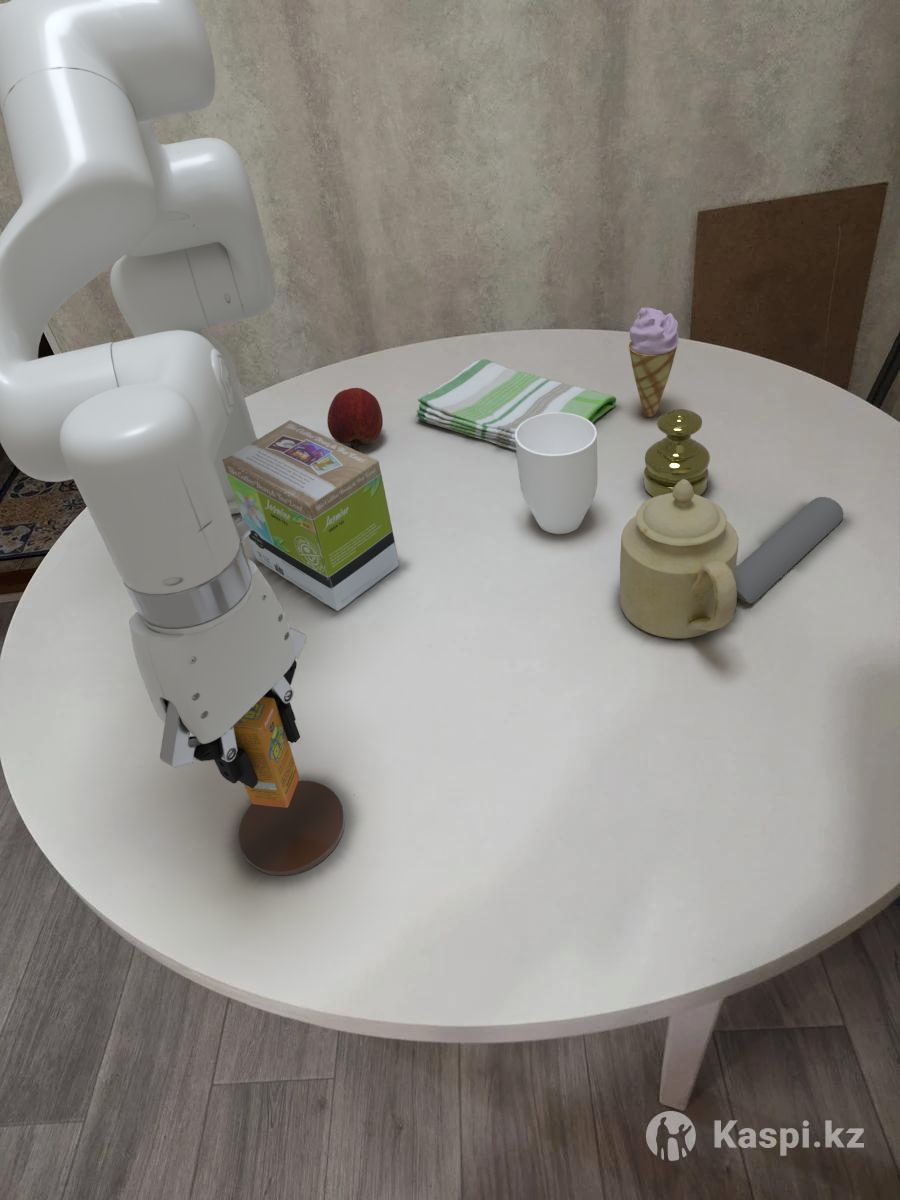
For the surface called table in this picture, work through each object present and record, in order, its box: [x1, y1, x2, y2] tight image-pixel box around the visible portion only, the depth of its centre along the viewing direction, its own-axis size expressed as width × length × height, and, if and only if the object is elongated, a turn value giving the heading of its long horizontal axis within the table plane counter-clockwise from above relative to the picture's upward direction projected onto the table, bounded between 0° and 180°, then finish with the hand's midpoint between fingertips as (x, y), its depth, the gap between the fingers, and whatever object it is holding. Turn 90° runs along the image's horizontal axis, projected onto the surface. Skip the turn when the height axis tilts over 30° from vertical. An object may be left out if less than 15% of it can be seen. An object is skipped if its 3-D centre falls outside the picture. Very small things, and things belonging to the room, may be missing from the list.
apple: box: [326, 387, 384, 449], centre depth 117 cm, size 7×8×8 cm
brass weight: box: [643, 408, 711, 498], centre depth 100 cm, size 7×7×10 cm
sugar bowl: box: [619, 479, 739, 640], centre depth 83 cm, size 15×11×15 cm
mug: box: [515, 412, 598, 535], centre depth 98 cm, size 12×9×12 cm
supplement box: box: [233, 697, 301, 808], centre depth 67 cm, size 3×3×10 cm
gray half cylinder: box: [734, 496, 845, 604], centre depth 92 cm, size 4×20×2 cm, turn 134°
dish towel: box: [415, 358, 617, 451], centre depth 119 cm, size 17×23×4 cm
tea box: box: [223, 419, 400, 612], centre depth 95 cm, size 15×10×15 cm, turn 47°
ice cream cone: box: [628, 307, 679, 418], centre depth 112 cm, size 7×6×15 cm
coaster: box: [238, 779, 346, 876], centre depth 73 cm, size 9×9×1 cm
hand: (262, 754), depth 67 cm, fingers closed on supplement box, 4 cm apart
